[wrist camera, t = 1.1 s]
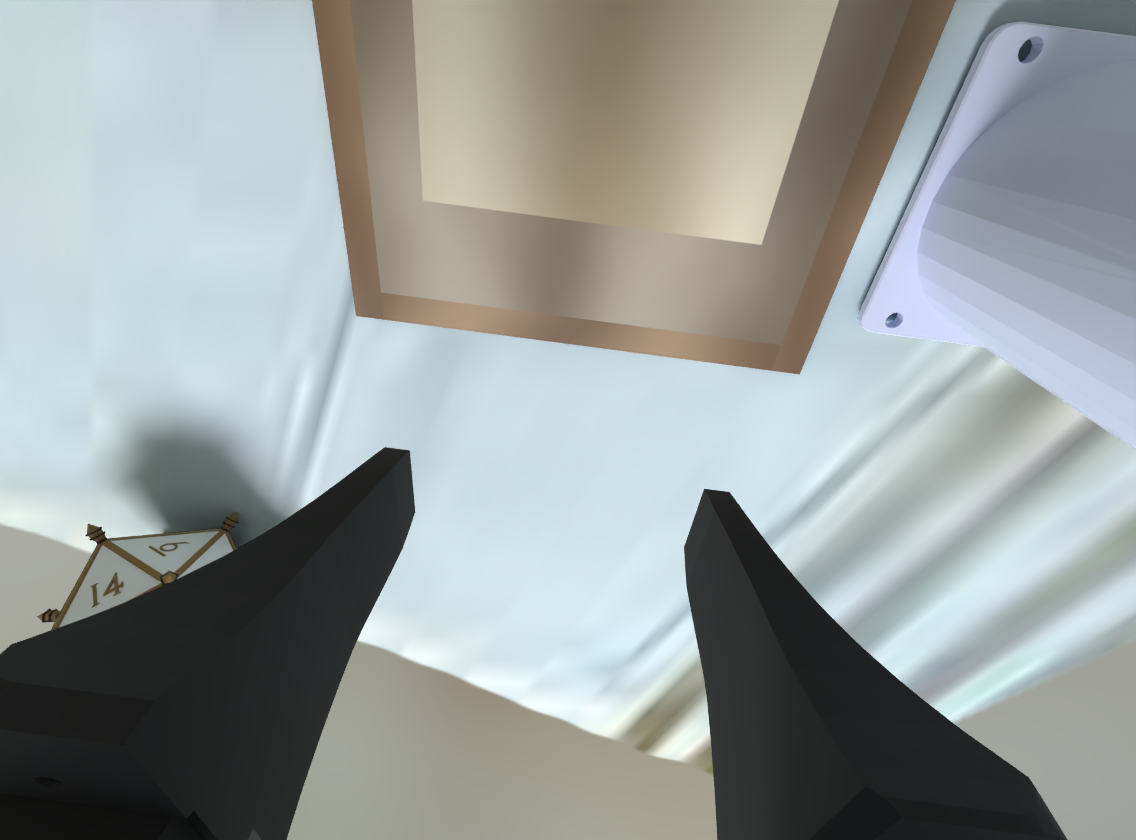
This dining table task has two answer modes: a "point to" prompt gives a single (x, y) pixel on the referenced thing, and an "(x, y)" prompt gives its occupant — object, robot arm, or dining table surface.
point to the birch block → (616, 107)
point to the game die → (138, 567)
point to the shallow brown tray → (604, 252)
